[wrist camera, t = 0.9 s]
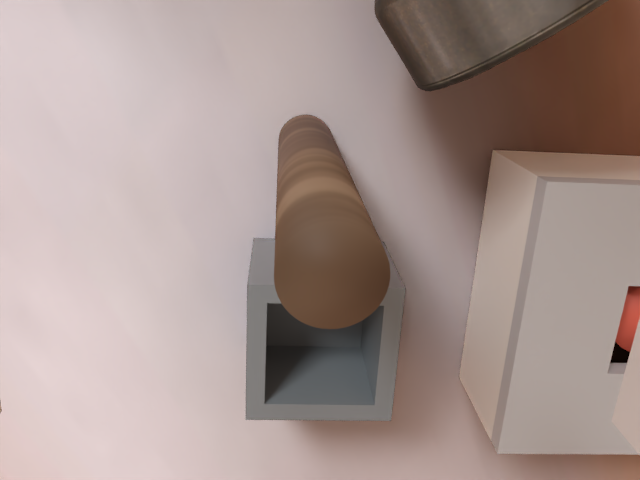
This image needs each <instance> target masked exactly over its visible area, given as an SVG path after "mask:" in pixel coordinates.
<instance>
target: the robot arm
mask: <svg viewBox="0 0 640 480" xmlns="http://www.w3.org/2000/svg"><path fill="white" fill-rule="evenodd" d="M1 411H2V409H1V402H0V413H1ZM612 422H613V424H614V425H615V426H616V427H617V428H618V430H619V431H620V432H621V433H622V435H623V436H624V437H625V438H626V439H627V441H628V442H629V443H630V444H631V446H632V447H633V448H634V449H635V450H636V452H637V453H638V454H639V455H640V318H639V322H638V325H637V329H636V333H635V336H634V340H633V344H632V347H631V351H630V355H629V358H628V362H627V366H626V369H625V373H624V377H623V380H622V384H621V388H620V391H619V395H618V399H617V402H616V406H615V410H614V413H613V417H612Z"/></svg>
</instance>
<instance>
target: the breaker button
mask: <svg viewBox="0 0 640 480" xmlns="http://www.w3.org/2000/svg"><path fill="white" fill-rule="evenodd" d="M639 318H640V286H629V287H628V291H627V295H626V299H625V303H624V307H623V312H622V316H621V320H620V324H619V328H618V332H617V336H616V340H615V342H616V343H617V344H618V345H619V346H620V347H622V348H623V349H625V350H627V351H629V352H630V351H631V347H632V344H633V340H634V336H635V333H636V329H637V325H638V322H639Z"/></svg>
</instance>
